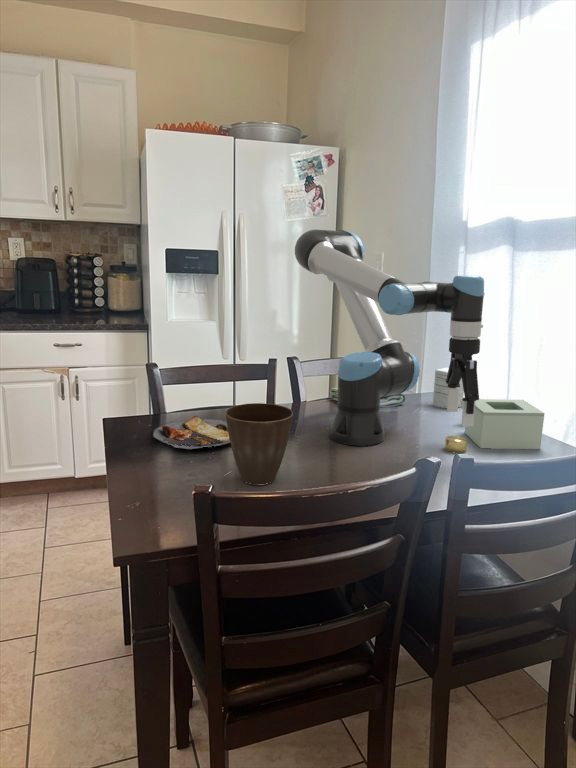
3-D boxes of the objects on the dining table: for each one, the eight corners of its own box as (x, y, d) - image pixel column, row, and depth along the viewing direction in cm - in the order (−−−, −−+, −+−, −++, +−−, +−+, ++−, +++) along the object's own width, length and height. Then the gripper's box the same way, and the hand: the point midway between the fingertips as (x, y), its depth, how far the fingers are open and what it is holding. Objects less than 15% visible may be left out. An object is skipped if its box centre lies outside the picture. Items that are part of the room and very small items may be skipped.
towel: (327, 398, 204) (328, 384, 203) (380, 394, 211) (380, 380, 210) (350, 411, 188) (351, 396, 186) (406, 406, 195) (407, 392, 194)
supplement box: (444, 402, 200) (447, 366, 197) (463, 406, 194) (466, 370, 191) (431, 405, 195) (434, 369, 192) (450, 410, 190) (453, 373, 187)
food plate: (137, 436, 159) (137, 424, 158) (205, 420, 175) (205, 409, 174) (191, 462, 142) (191, 448, 141) (260, 442, 158) (260, 430, 157)
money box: (480, 448, 153) (483, 412, 151) (464, 432, 166) (467, 399, 164) (540, 449, 153) (544, 413, 151) (519, 432, 167) (523, 399, 164)
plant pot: (293, 468, 137) (294, 404, 133) (289, 494, 122) (291, 422, 119) (231, 466, 138) (231, 402, 134) (220, 491, 123) (219, 420, 120)
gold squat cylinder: (447, 453, 149) (448, 442, 148) (441, 446, 155) (442, 435, 154) (469, 453, 149) (470, 442, 148) (462, 446, 155) (463, 436, 154)
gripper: (497, 344, 133) (490, 432, 137) (464, 331, 157) (459, 406, 162) (465, 344, 133) (459, 432, 137) (437, 331, 157) (433, 406, 162)
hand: (459, 418), depth 150 cm, fingers open, 13 cm apart
